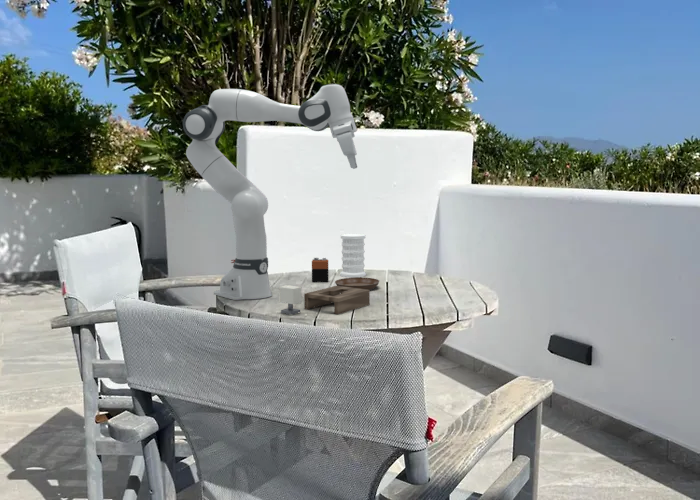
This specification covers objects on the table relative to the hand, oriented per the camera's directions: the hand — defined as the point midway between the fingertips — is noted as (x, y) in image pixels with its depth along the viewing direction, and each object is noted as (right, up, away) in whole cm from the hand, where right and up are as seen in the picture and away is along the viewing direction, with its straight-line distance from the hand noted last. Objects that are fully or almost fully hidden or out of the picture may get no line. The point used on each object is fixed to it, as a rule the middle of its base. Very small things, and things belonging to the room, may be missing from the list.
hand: (354, 168), depth 216 cm
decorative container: (0, -40, +58) cm, 70 cm away
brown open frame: (-6, -48, -8) cm, 49 cm away
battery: (-14, -42, +42) cm, 61 cm away
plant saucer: (+1, -44, +27) cm, 52 cm away
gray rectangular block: (-21, -49, -17) cm, 56 cm away
